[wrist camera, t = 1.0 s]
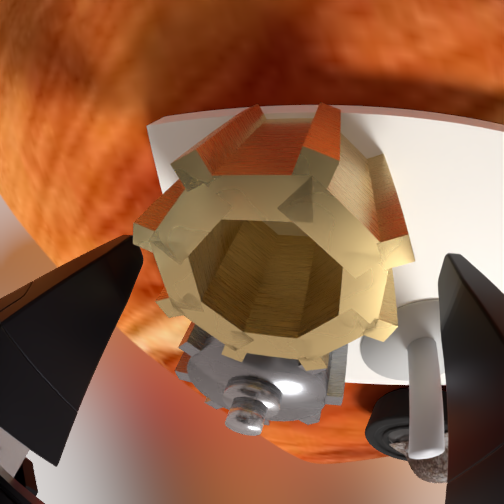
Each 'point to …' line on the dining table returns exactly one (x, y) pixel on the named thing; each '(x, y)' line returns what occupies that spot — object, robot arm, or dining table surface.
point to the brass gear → (279, 238)
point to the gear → (259, 383)
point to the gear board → (418, 224)
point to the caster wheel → (404, 435)
